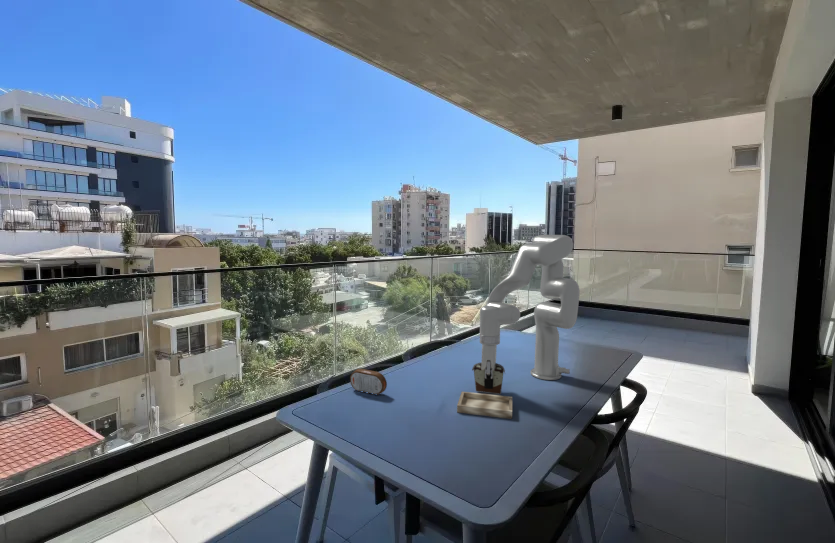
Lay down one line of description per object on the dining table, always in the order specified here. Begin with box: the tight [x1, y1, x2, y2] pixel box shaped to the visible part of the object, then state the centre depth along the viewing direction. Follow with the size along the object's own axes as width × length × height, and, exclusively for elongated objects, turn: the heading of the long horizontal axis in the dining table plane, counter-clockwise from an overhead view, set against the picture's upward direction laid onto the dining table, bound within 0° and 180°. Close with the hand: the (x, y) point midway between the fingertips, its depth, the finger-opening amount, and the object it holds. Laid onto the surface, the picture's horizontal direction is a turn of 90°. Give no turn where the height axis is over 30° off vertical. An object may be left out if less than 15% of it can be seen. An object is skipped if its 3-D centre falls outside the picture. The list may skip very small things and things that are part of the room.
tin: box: [349, 368, 388, 396], centre depth 146 cm, size 15×3×8 cm, turn 65°
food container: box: [471, 361, 506, 395], centre depth 148 cm, size 12×6×10 cm, turn 71°
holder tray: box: [456, 391, 513, 420], centre depth 134 cm, size 18×12×2 cm, turn 76°
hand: (489, 384), depth 148 cm, fingers closed on food container, 5 cm apart
